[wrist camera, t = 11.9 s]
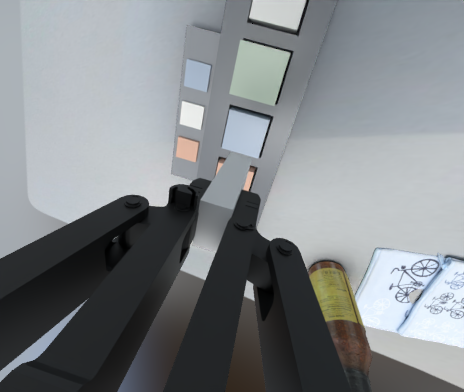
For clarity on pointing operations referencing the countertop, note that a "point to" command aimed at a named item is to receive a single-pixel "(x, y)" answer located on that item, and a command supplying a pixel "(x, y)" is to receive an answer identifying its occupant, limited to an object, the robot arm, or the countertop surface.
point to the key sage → (258, 72)
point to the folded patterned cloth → (406, 281)
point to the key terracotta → (249, 176)
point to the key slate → (245, 131)
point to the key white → (277, 14)
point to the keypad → (220, 101)
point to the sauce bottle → (343, 322)
